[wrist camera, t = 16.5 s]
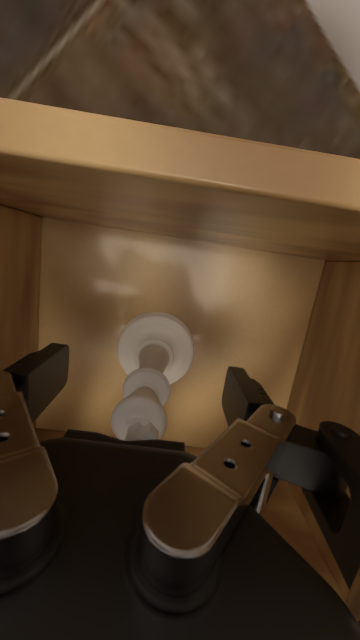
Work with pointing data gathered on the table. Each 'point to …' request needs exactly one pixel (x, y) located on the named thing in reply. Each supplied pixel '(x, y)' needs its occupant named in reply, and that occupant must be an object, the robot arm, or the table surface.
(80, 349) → the chest
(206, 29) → the table surface
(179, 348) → the chess piece
